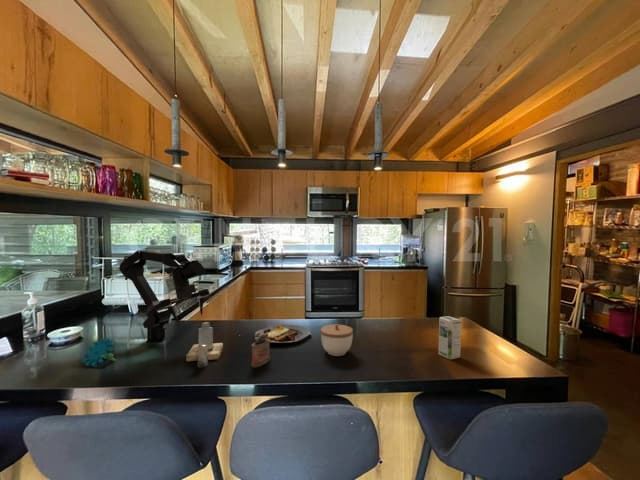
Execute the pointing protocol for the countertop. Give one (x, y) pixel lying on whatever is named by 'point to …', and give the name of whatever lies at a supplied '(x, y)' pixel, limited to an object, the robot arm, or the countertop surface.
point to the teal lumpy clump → (99, 352)
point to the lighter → (260, 350)
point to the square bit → (206, 335)
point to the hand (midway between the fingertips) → (189, 318)
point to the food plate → (284, 333)
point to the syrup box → (449, 337)
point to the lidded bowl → (336, 339)
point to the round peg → (202, 355)
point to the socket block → (211, 354)
